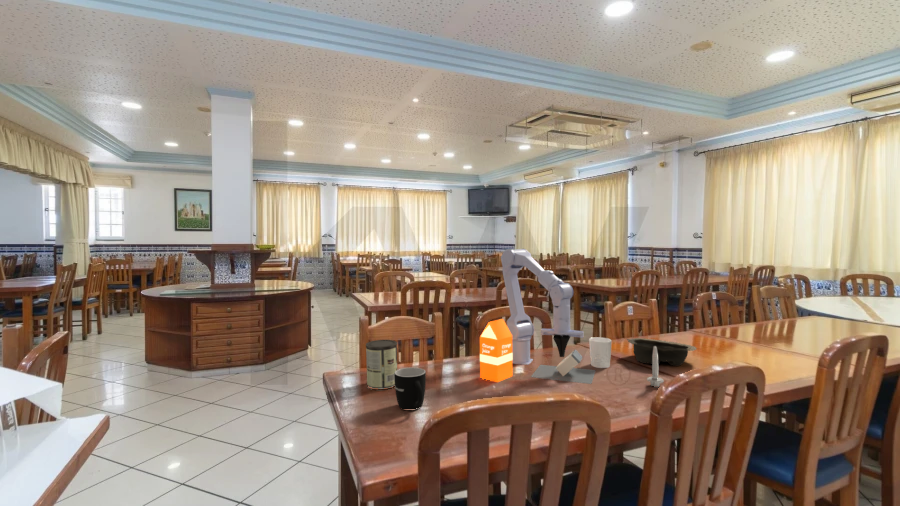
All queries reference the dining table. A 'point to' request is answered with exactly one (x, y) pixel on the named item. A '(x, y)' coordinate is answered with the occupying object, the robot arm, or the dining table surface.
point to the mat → (571, 376)
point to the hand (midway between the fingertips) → (562, 356)
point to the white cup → (600, 352)
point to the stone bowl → (660, 351)
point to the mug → (410, 387)
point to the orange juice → (496, 352)
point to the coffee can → (381, 363)
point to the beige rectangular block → (569, 362)
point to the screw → (655, 370)
